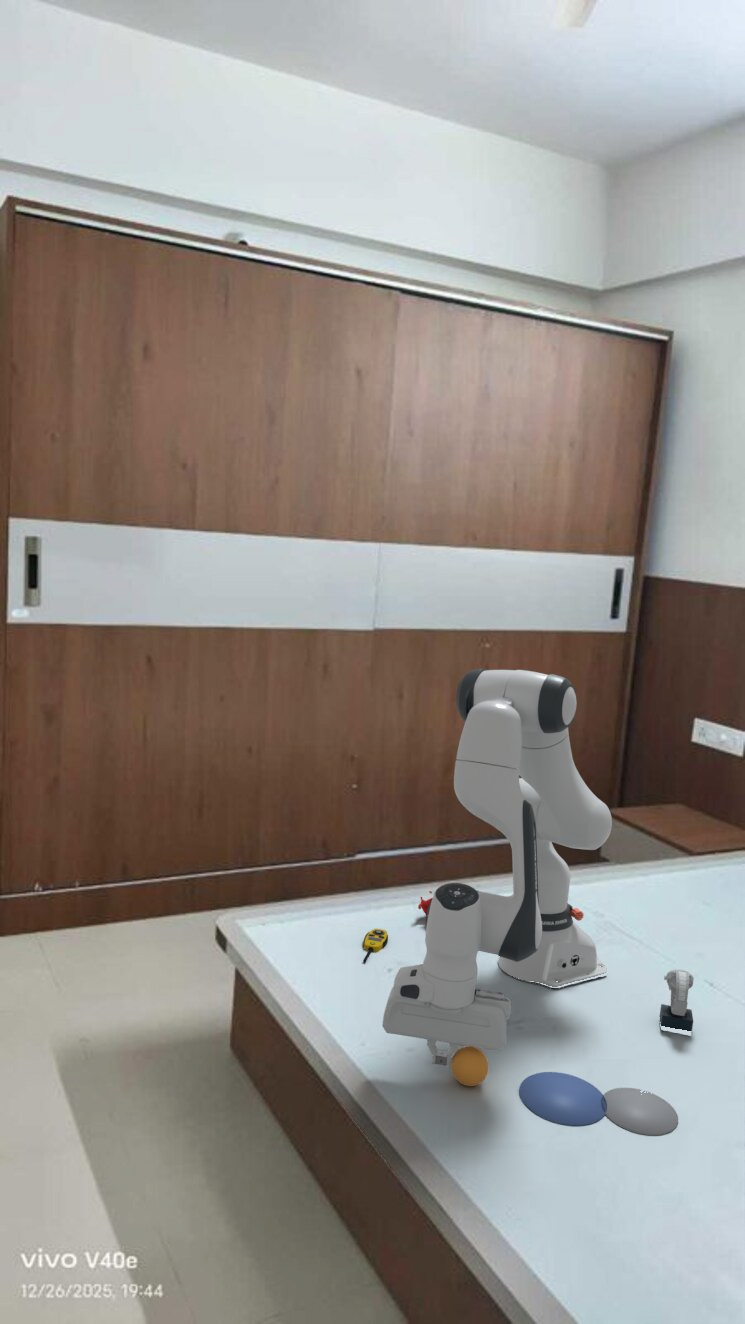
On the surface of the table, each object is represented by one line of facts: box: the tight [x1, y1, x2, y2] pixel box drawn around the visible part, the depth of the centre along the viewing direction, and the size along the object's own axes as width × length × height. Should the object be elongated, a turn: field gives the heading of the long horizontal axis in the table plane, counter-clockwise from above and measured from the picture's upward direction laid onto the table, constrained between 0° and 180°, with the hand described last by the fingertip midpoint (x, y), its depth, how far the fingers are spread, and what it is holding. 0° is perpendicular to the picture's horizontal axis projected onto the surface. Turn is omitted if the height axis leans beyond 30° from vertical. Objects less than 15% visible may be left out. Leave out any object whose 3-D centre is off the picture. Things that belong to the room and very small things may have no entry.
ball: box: [451, 1046, 489, 1087], centre depth 158 cm, size 6×6×6 cm
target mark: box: [518, 1071, 607, 1127], centre depth 156 cm, size 14×14×1 cm
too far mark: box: [601, 1087, 679, 1136], centre depth 155 cm, size 12×12×1 cm
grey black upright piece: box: [659, 969, 695, 1031], centre depth 181 cm, size 6×8×11 cm
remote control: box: [362, 928, 389, 964], centre depth 204 cm, size 5×2×15 cm
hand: (441, 1063), depth 159 cm, fingers closed
